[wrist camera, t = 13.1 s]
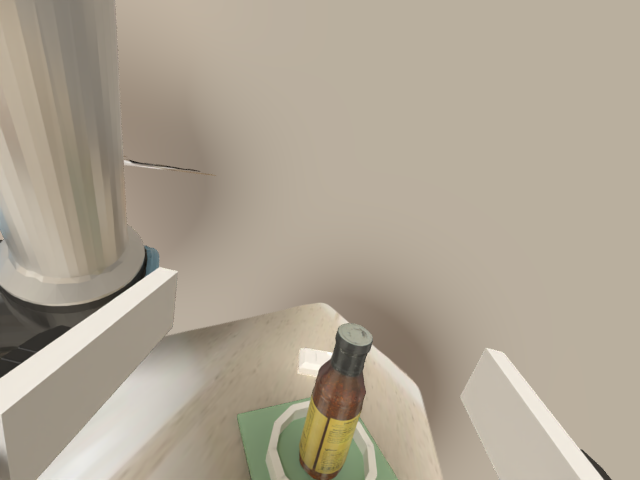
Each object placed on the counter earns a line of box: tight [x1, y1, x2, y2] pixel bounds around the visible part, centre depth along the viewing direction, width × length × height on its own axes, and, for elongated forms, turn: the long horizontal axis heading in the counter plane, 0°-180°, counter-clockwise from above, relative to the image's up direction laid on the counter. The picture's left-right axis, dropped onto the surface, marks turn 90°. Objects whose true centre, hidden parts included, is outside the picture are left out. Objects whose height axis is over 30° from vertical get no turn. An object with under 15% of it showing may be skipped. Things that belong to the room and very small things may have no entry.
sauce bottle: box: [299, 323, 373, 480], centre depth 36 cm, size 7×6×20 cm
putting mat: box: [237, 397, 398, 480], centre depth 39 cm, size 18×18×3 cm
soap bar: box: [297, 348, 333, 377], centre depth 55 cm, size 5×9×3 cm, turn 92°
